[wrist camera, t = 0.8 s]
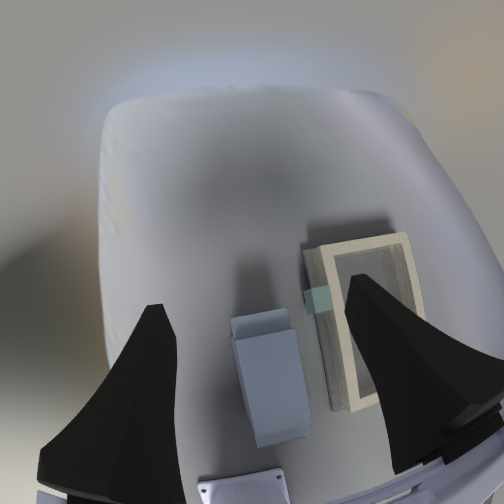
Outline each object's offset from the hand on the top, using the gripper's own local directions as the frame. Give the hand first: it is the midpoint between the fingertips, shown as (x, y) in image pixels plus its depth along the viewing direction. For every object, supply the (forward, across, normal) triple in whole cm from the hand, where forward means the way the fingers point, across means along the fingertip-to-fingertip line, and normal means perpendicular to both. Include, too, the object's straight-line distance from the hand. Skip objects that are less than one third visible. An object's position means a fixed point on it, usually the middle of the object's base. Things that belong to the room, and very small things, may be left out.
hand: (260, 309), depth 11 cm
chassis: (+8, -11, +12) cm, 18 cm away
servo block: (+5, 0, +13) cm, 14 cm away
